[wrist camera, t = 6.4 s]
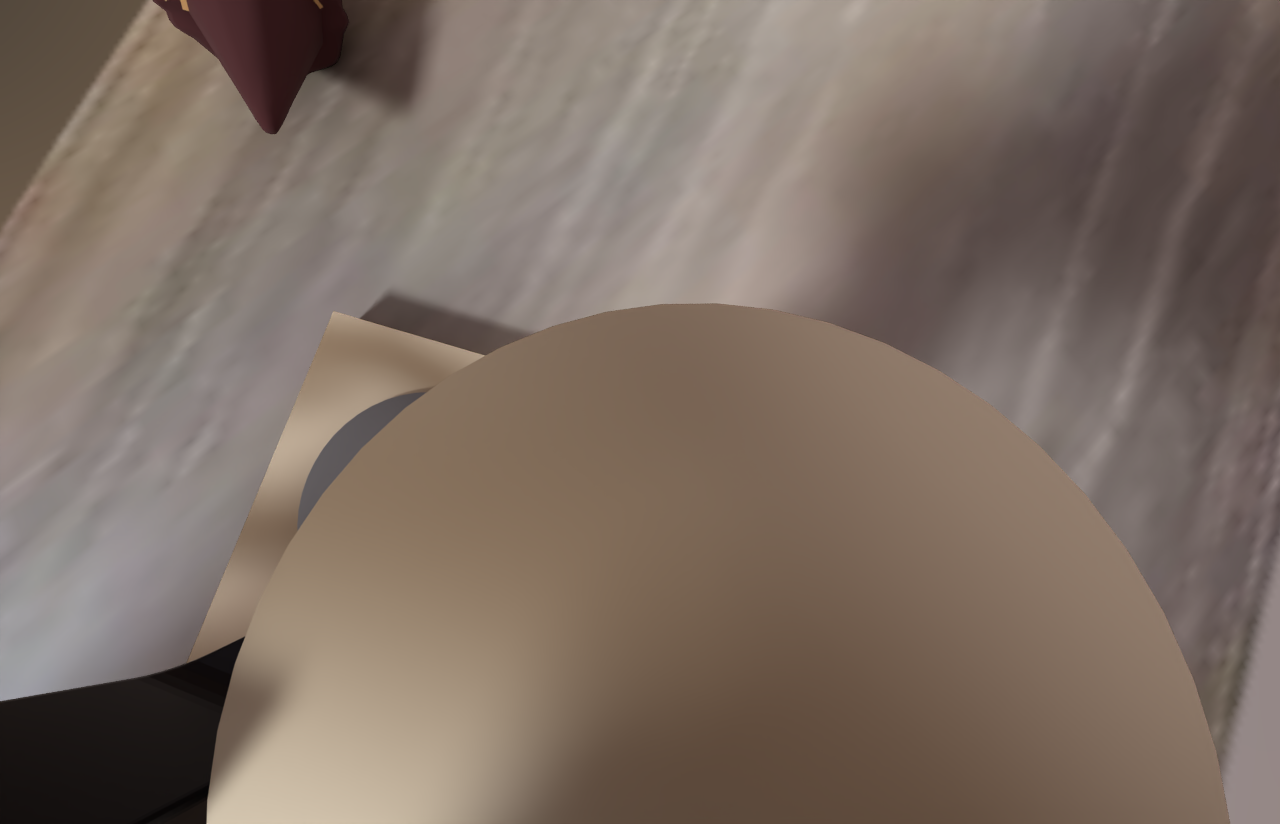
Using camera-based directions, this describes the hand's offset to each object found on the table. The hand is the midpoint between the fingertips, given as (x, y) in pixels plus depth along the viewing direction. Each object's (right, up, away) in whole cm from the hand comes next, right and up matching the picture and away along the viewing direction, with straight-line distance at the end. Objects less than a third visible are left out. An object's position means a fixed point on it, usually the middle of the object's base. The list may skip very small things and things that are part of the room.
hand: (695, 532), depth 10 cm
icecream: (-18, +21, +17) cm, 33 cm away
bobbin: (0, -3, +6) cm, 7 cm away
